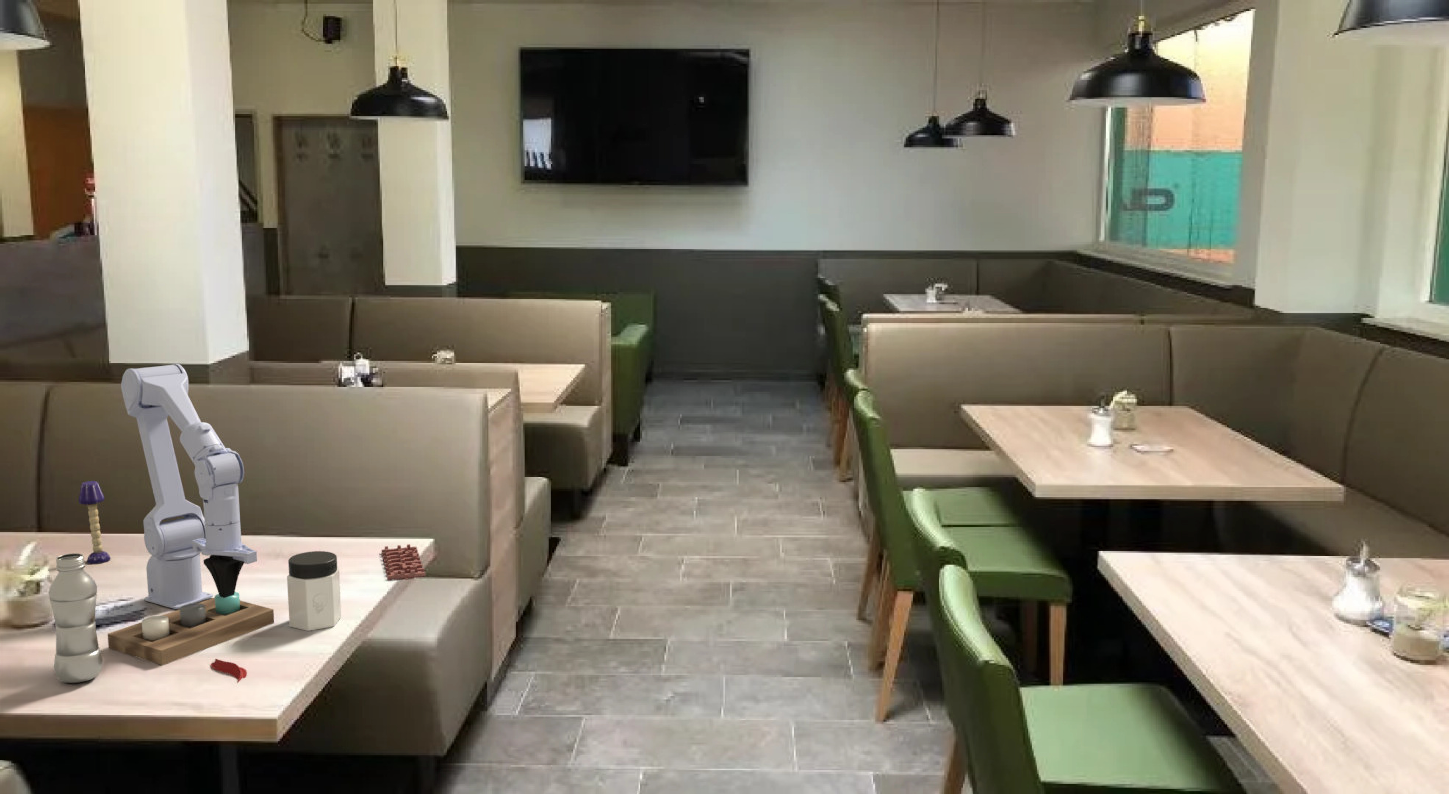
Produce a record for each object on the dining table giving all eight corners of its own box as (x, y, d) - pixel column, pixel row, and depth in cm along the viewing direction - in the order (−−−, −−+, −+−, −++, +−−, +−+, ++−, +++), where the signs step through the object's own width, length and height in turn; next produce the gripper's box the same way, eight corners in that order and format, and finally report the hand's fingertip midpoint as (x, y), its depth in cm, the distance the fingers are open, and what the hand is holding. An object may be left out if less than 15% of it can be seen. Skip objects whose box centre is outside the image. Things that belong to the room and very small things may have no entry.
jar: (295, 634, 200) (292, 568, 198) (284, 620, 207) (280, 555, 205) (347, 624, 205) (344, 560, 203) (335, 610, 212) (332, 548, 210)
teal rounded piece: (210, 611, 204) (209, 596, 204) (229, 605, 208) (229, 590, 207) (225, 616, 202) (224, 600, 202) (245, 609, 206) (244, 594, 205)
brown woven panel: (388, 583, 229) (387, 574, 228) (381, 555, 246) (381, 546, 246) (425, 580, 231) (425, 570, 231) (416, 552, 249) (416, 543, 248)
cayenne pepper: (251, 683, 181) (250, 672, 181) (219, 689, 179) (218, 678, 179) (239, 657, 191) (238, 646, 191) (208, 662, 189) (208, 651, 189)
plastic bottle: (67, 671, 184) (56, 550, 180) (111, 670, 184) (101, 550, 181) (47, 688, 177) (35, 563, 174) (93, 687, 178) (82, 563, 174)
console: (108, 648, 193) (107, 633, 193) (221, 608, 212) (220, 595, 212) (162, 665, 187) (161, 650, 186) (274, 622, 206) (273, 609, 205)
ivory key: (137, 637, 192) (136, 621, 192) (159, 629, 196) (158, 614, 195) (152, 642, 190) (151, 626, 190) (174, 634, 194) (173, 618, 193)
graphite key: (175, 624, 198) (174, 608, 198) (195, 617, 202) (194, 601, 201) (190, 628, 196) (189, 613, 196) (210, 621, 200) (209, 606, 199)
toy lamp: (93, 565, 235) (87, 486, 232) (78, 562, 237) (71, 483, 234) (115, 559, 239) (108, 481, 236) (100, 556, 241) (93, 478, 238)
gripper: (175, 520, 202) (180, 594, 205) (230, 533, 195) (235, 609, 198) (210, 511, 208) (214, 583, 211) (265, 523, 201) (269, 597, 204)
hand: (227, 595), depth 205 cm, fingers closed
